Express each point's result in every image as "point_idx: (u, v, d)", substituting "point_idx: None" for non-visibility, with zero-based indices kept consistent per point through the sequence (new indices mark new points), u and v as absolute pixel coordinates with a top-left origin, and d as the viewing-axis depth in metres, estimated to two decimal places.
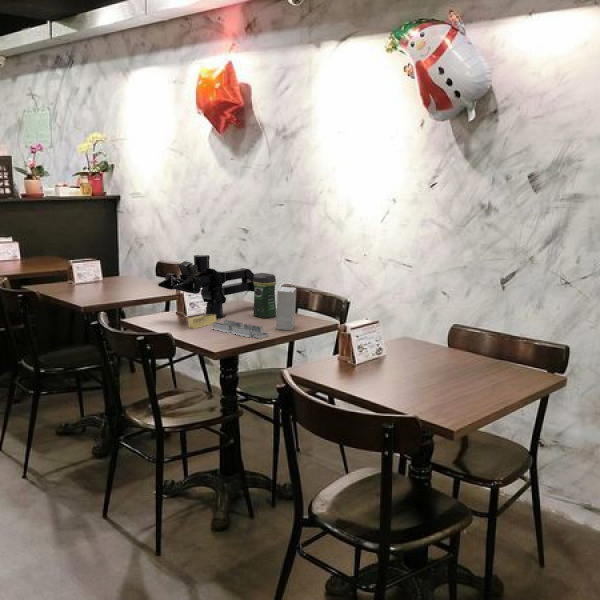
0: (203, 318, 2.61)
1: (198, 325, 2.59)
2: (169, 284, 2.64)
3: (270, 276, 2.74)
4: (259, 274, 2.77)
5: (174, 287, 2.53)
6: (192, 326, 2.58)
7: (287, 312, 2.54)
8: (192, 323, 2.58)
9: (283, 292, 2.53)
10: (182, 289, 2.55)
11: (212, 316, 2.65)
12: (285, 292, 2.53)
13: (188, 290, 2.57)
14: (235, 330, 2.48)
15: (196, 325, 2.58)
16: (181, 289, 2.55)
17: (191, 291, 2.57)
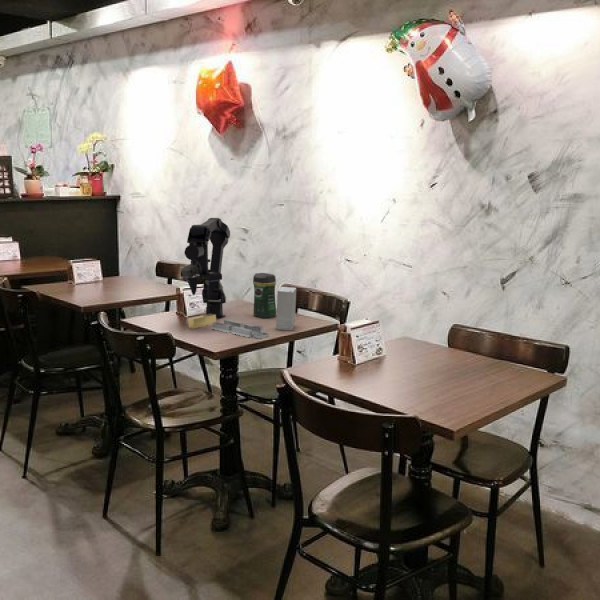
0: (203, 318, 2.61)
1: (198, 325, 2.59)
2: (194, 280, 2.63)
3: (270, 276, 2.74)
4: (259, 274, 2.77)
5: (209, 296, 2.58)
6: (192, 326, 2.58)
7: (287, 312, 2.54)
8: (192, 323, 2.57)
9: (283, 292, 2.53)
10: (213, 288, 2.57)
11: (212, 316, 2.65)
12: (285, 292, 2.53)
13: (215, 282, 2.57)
14: (235, 330, 2.48)
15: (196, 325, 2.58)
16: (213, 289, 2.57)
17: None
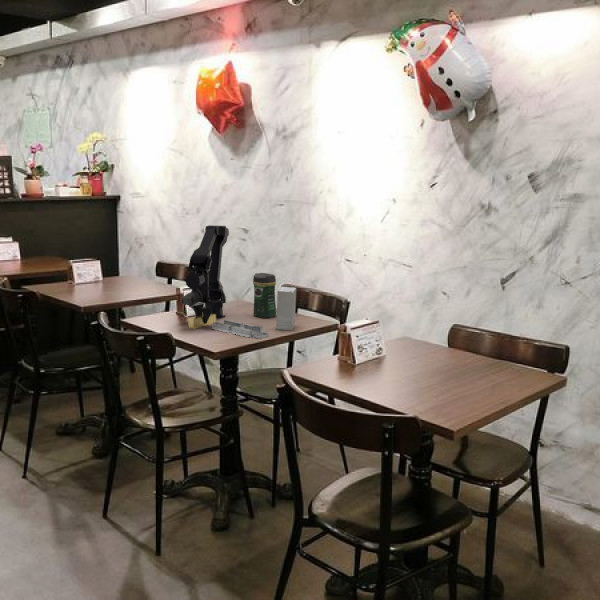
0: None
1: (198, 325, 2.59)
2: (199, 307, 2.63)
3: (270, 276, 2.74)
4: (259, 274, 2.77)
5: (205, 322, 2.61)
6: (192, 326, 2.58)
7: (287, 312, 2.54)
8: (192, 323, 2.57)
9: (283, 292, 2.53)
10: (209, 315, 2.61)
11: (212, 316, 2.64)
12: (285, 292, 2.53)
13: (211, 309, 2.61)
14: (235, 330, 2.48)
15: (196, 325, 2.58)
16: (209, 316, 2.61)
17: None
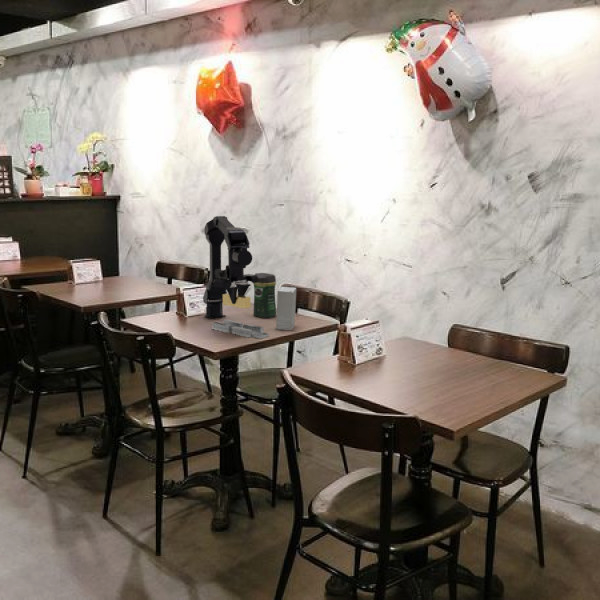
0: None
1: (227, 302, 2.52)
2: (241, 287, 2.51)
3: (270, 276, 2.74)
4: (259, 274, 2.77)
5: (233, 303, 2.49)
6: None
7: (287, 312, 2.54)
8: None
9: (283, 292, 2.53)
10: (233, 295, 2.47)
11: (241, 298, 2.47)
12: (285, 292, 2.53)
13: (232, 289, 2.46)
14: (235, 330, 2.48)
15: (225, 301, 2.53)
16: (233, 296, 2.48)
17: (231, 288, 2.45)
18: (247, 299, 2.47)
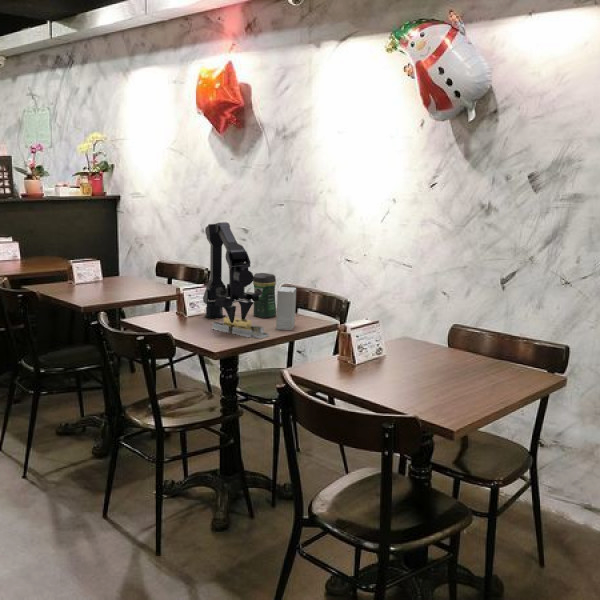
0: None
1: None
2: (244, 305, 2.53)
3: (270, 276, 2.74)
4: (259, 274, 2.77)
5: (231, 322, 2.50)
6: None
7: (287, 312, 2.54)
8: None
9: (283, 292, 2.53)
10: (231, 314, 2.48)
11: (242, 322, 2.49)
12: (285, 292, 2.53)
13: (231, 309, 2.46)
14: (235, 330, 2.48)
15: (226, 324, 2.54)
16: (231, 315, 2.48)
17: (230, 308, 2.45)
18: (248, 323, 2.49)
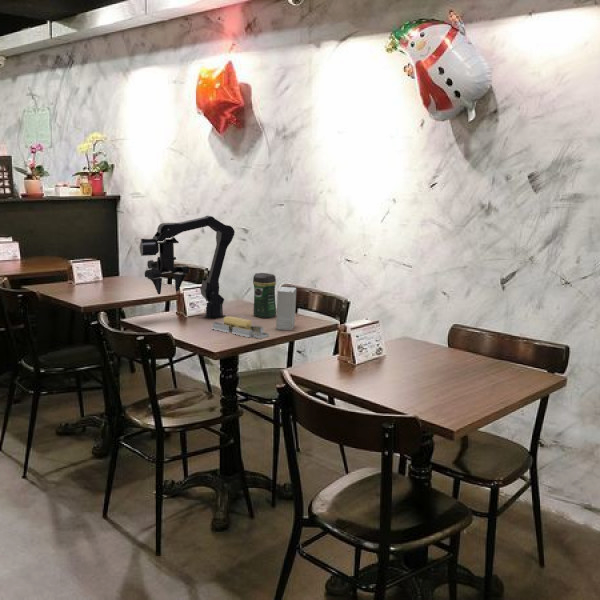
0: (233, 320, 2.52)
1: None
2: (178, 277, 2.70)
3: (270, 276, 2.74)
4: (259, 274, 2.77)
5: (158, 293, 2.64)
6: None
7: (287, 312, 2.54)
8: None
9: (283, 292, 2.53)
10: (158, 286, 2.62)
11: (242, 322, 2.49)
12: (285, 292, 2.53)
13: (157, 280, 2.61)
14: (235, 330, 2.48)
15: (226, 324, 2.54)
16: (158, 287, 2.62)
17: (155, 279, 2.60)
18: (248, 323, 2.49)
